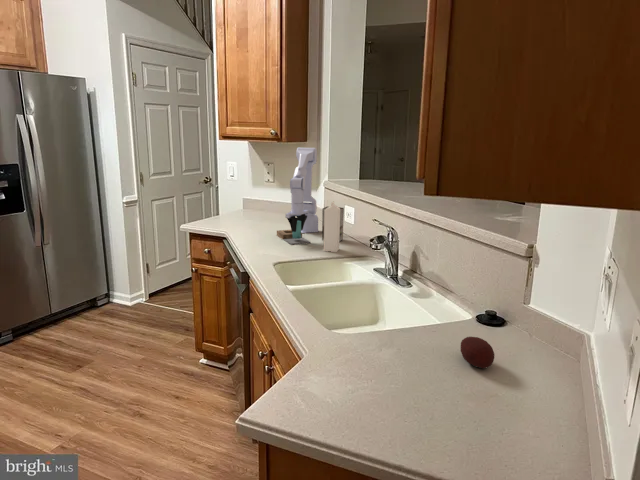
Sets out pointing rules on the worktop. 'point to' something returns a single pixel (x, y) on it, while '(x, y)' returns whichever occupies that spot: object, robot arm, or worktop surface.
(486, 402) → the worktop surface
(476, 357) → the potato
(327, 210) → the milk
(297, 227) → the plug
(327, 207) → the coffee box
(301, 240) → the mat
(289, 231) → the socket block
